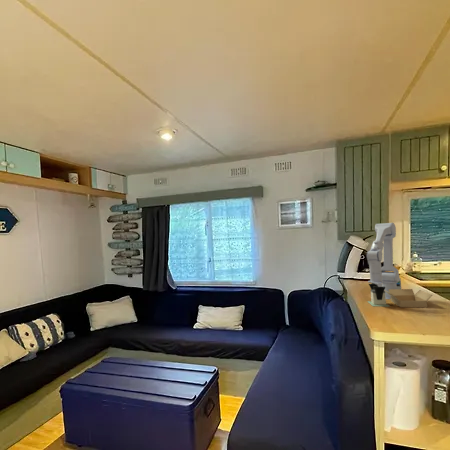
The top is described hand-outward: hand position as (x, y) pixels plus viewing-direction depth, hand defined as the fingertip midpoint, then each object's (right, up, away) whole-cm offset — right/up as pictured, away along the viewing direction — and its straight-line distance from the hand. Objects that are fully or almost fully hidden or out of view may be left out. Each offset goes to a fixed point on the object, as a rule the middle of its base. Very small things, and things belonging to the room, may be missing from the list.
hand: (377, 298), depth 160 cm
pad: (0, -3, 0) cm, 3 cm away
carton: (+15, -3, -2) cm, 15 cm away
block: (0, -3, 0) cm, 3 cm away
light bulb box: (+22, -4, +24) cm, 33 cm away
